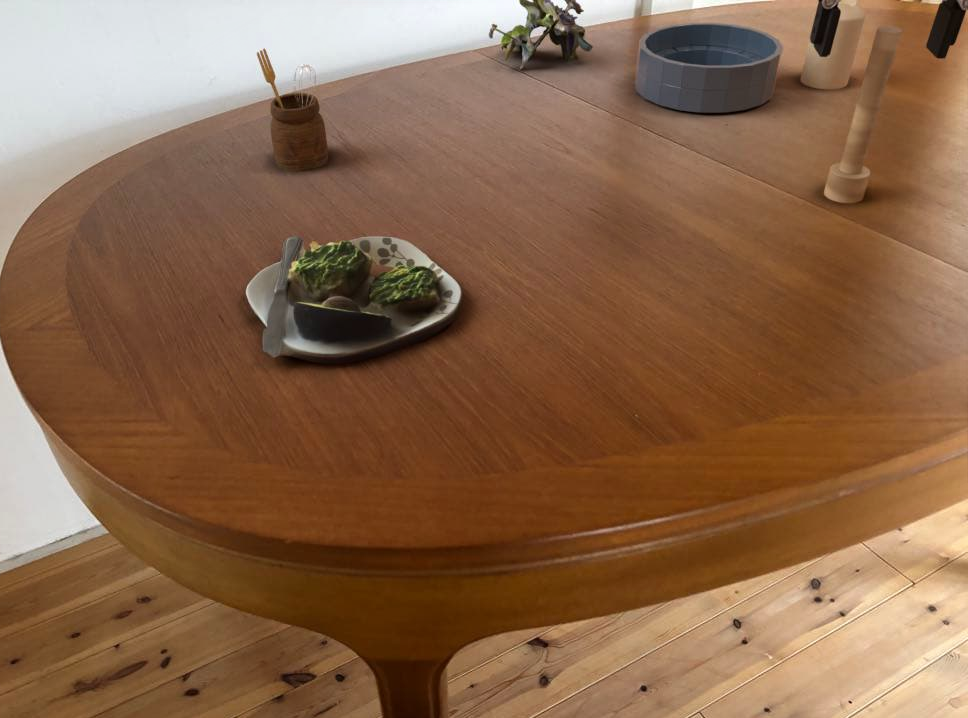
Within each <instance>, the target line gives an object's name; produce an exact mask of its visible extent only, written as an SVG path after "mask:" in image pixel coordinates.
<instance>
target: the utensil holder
mask: <svg viewBox="0 0 968 718" xmlns="http://www.w3.org/2000/svg"><path fill="white" fill-rule="evenodd" d="M256 56H257V59H258V62H259V64H260V68H261V71H262V75H263V77H264V80H265V81H266V83H268V84H270V85H271V88H272V91H273V94H274V96H275V98H273V100H272V101H271V102H270V107H269V108H270V109H269V110H270V115H271V117H272V118H271V120H270V124H269V125H270V127H269V128H270V137H271V143H272V144H271V145H272V149H273V156H274V160H275V163H276V166H278V167H279V168H280V169H282V170H284V171H289V172H304V171H305V172H306V171H310V170H314V169H317V168H320V167H321V166H323V165H325V164H326V163H327V162H328V160H329V149H328V148H329V147H328V140H327V134H326V133H327V132H326V125H325V120H324V118H323V116H322V114H321V113H320V110H321V109H320V108H321V107H320V103H319V99H318V98H317V96H315V93H316V86H317V83H316V82H317V76H316V75H317V74H316V71H315V69H314V68H313V67H312V66H310V65H309V64H306V65H305V64H300V65H299V67H297V68H296V69H295V72H294V76H293V80H296V78H297V71H298V70H299V69H300V68H301V71H300V73H299V77H302V73H303V70H304V68H305V69H306V70H308V69H309V72H308V71H306V76H309V80H311V73H312V72H313V73H312V74H313V79H314V82H313V83H314V85H313V86H314V87H313V94H310V93H309V92H310V90H311V87H308V90H307V92H306V93H304V92H297V90H296V87H294V91H293V93H286V94H282V95H280V94H279V91H278V89H277V85H276V84H275V81H276V74H275V70H274V68H273V65H272V63H271V61H270V58H269V55H268V52H267V50H266V48H265V47H263V48H262V50H261V49H260V50H259V51H257V52H256ZM307 68H308V69H307ZM300 84H301V86H300ZM300 87H301V88H303V83H301V78H299V81H298V88H300Z"/></svg>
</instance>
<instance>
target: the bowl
mask: <svg viewBox="0 0 968 718" xmlns="http://www.w3.org/2000/svg"><path fill="white" fill-rule="evenodd" d="M783 51H784V46H783V44H782V42H781V41H780V40H779V38H777V37H775V36H774V35H772V34H770V33H768V32H765V31H762V30H759V29H757V28H754V27H749V26H745V25H738V24H731V23H719V22H688V23H679V24H671V25H666V26H662V27H658V28H655V29H653V30H651V31H649V32H647V33H645V34H644V35H643V36H642V37H641V38H640V40H639V41H638V49H637V58H636V66H635V75H634V76H635V78H634V87H635V92H637V93H638V94H639V95H640V96H641V97H642V98H643V99H645V100H647V101H649V102H650V103H651V102H652V103H654V104H656V105H658V106H661V107H665V108H668V109H672V110H677V111H684V112H690V113H691V112H692V113H700V114H701V113H703V114H706V113H707V114H710V113H711V114H713V113H715V114H716V113H718V114H719V113H720V114H721V113H722V114H723V113H732V112H739V111H745V110H749V109H752V108H755V107H758V106H762V105H763V104H765V103H767V102H768V101H770V100H771V99H772V97H773V95H774V92H775V89H776V85H777V80H778V74H779V69H780V65H781V59H782V55H783Z"/></svg>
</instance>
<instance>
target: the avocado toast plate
mask: <svg viewBox="0 0 968 718" xmlns="http://www.w3.org/2000/svg"><path fill="white" fill-rule="evenodd" d="M304 243H305V242H304V240H303V238H302V237H300V236H296V235H294V236H290V237H287V238H286V239H285V240H284V242H283V245H282V254H281V259H280V261H278V262H276V263H273V264H271V265H269V266H266V267H264V268H263V269H262V270H260V271H259V272H258V273H257V274H256V275H255V276H254V277H253V278H252V279H251V280H250V281H249V283H248V284H247V287H246V289H245V295H246V298H247V301H248V303H249V306H250V307H251V309H252V311H253V312H254V314H255V315H256V316H257V317H258V319H259V320H260V321H261V322H262V323H263V325H264V327H265V328H264V329H263V331H262V351H263V352H264V353H265V354H267V355H269V356H270V357H272V358H276V357H280V356H285V357H293V358H296V359H300V360H302V361H306V362H309V363H316V364H323V365H343V364H351V363H356V362H360V361H365V360H367V359H371V358H372V359H373V358H376V357H380V356H383V355H385V354H388V353H391V352H394V351H398V350H400V349H403V348H407V347H409V346H412V345H415V344H418V343H422V342H423V341H426V340H427V339H430V338H431V337H433V336H435V335H436V334H438V333H439V332H441V331H443V330H444V329H445V328H446V327H447V326H449V325H450V324H451V323H452V322H453V321H454V320H455V318H456V316H457V315H458V313H459V311H460V309H461V306H462V300H463V291H462V287H461V286H460V284H459V282H457V281H456V280H455V279H454V278H453V277H452V276H451V275H450V274H449V273H448V272H446V271H445V270H444V269H443V268H441V267H440V266H438V264H437V263H436V262H435V261H433V260H431V258H429V256H428V255H427V254H426V253H424V252H423V251H421V249H419V248H418V247H417V246H415V245H414V244H412V243H411V242H409V241H407V240H404V239H401V238H397V237H390V236H363V237H358V238H354V239H350V240H348V241H347V240H340V241H339V242H328V243H327V244H323V245H319V244H318V242H317V240H312V241H309V246H310V249H311V250H308V249H305V245H304ZM373 265H377V266H378V265H379V266H385V267H389V268H393V269H392V270H390V271H386V270H384V271H382V272H380V274H379V273H378V275H377V276H374V275H372V274H371V269H372V266H373ZM410 325H411V326H410Z"/></svg>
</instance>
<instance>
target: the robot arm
mask: <svg viewBox="0 0 968 718" xmlns="http://www.w3.org/2000/svg"><path fill="white" fill-rule="evenodd" d="M817 1H818V2H817V6H816V10H815V13H816V14H815V13H814V17H815V18H814V17H813V21H814V23H813V22H812V26H813V27H811V30H812V31H810V35H809V39H810V41H811V43H812V44H814V48H815V50H816V51H817V53H818V54H819V56H820V57H827V56H828V55H830V53H831V49H832V45H833V41H834V38H835V34H836V30H837V26H838V22H839V19H840V15H841V10H840V9H839V8H838V3H839V2H840V1H841V0H817ZM967 11H968V0H942V1H941V2H940V3H939V5H938V7H937V11H936V13H935V16H934V20H933V23H932V25H931V29H930V31H929V35H928V38H927V41H926V46H925V47H926V49H927V50H928V51H929V52H930V53H931V54H932V55H933V56H934V57H935V58H936V59H939V60H943V59H946V58H947V55H948V52H949V49H950V47H951V46H954V45H955V44H956V42H957V39H958V36H959V34H960V30H961V28H962V25H963V22H964V19H965V16H966V13H967Z"/></svg>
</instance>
